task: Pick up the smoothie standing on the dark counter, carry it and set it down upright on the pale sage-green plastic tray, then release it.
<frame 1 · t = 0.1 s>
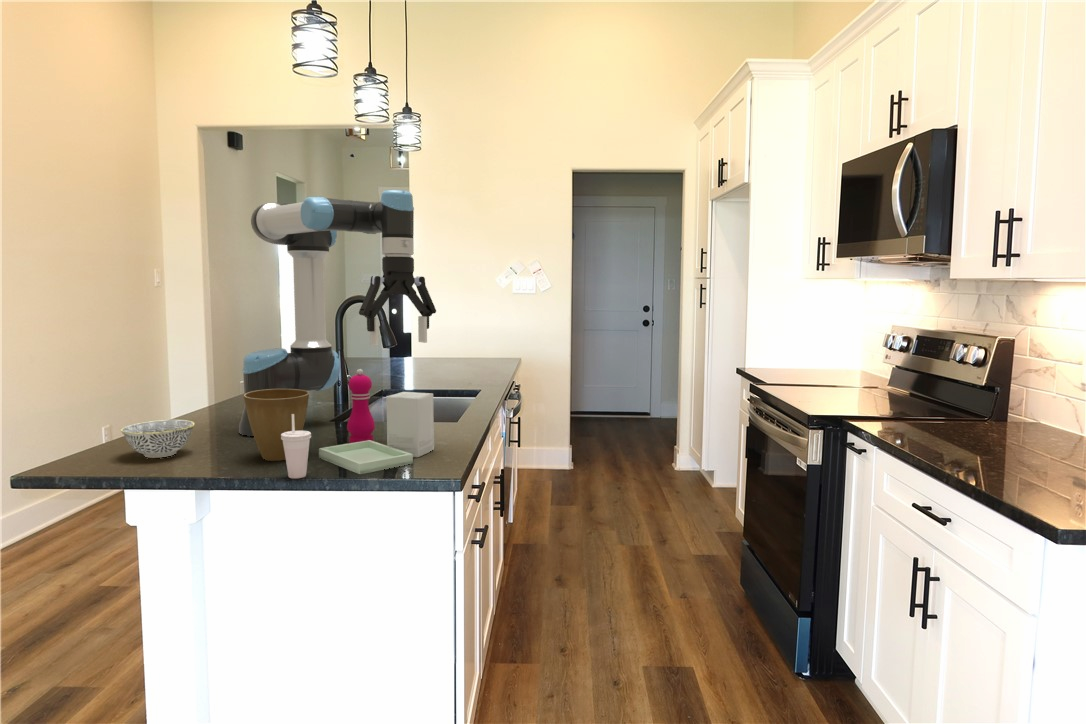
hand: (399, 343, 176), 28 cm above the counter, tool pointing down, fingers open, 13 cm apart
tray: (365, 460, 173), on the counter
bowl: (160, 456, 177), on the counter
smoothie: (297, 476, 160), on the counter
pepper mill: (361, 443, 193), on the counter
plant pot: (279, 458, 176), on the counter
supplement box: (411, 453, 182), on the counter
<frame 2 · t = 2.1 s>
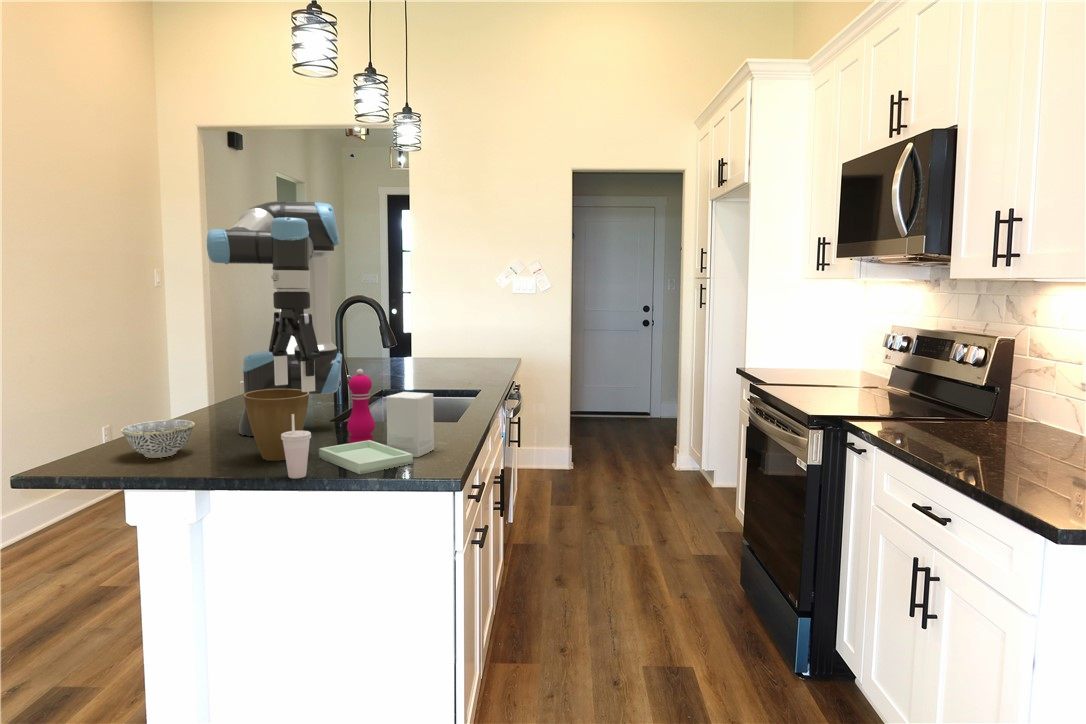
hand: (294, 388, 157), 20 cm above the counter, tool pointing down, fingers open, 13 cm apart
nothing on the counter moved.
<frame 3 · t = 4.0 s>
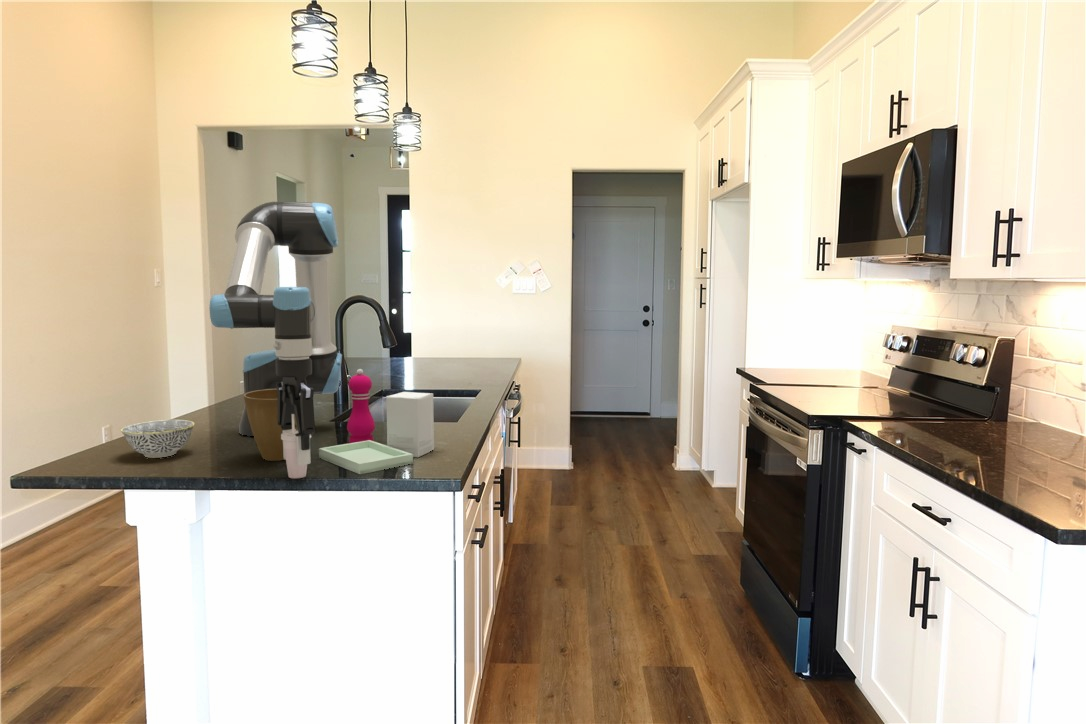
hand: (296, 460, 159), 3 cm above the counter, tool pointing down, fingers closed on smoothie, 6 cm apart
smoothie: (297, 476, 160), on the counter, touching gripper
everything else where it was.
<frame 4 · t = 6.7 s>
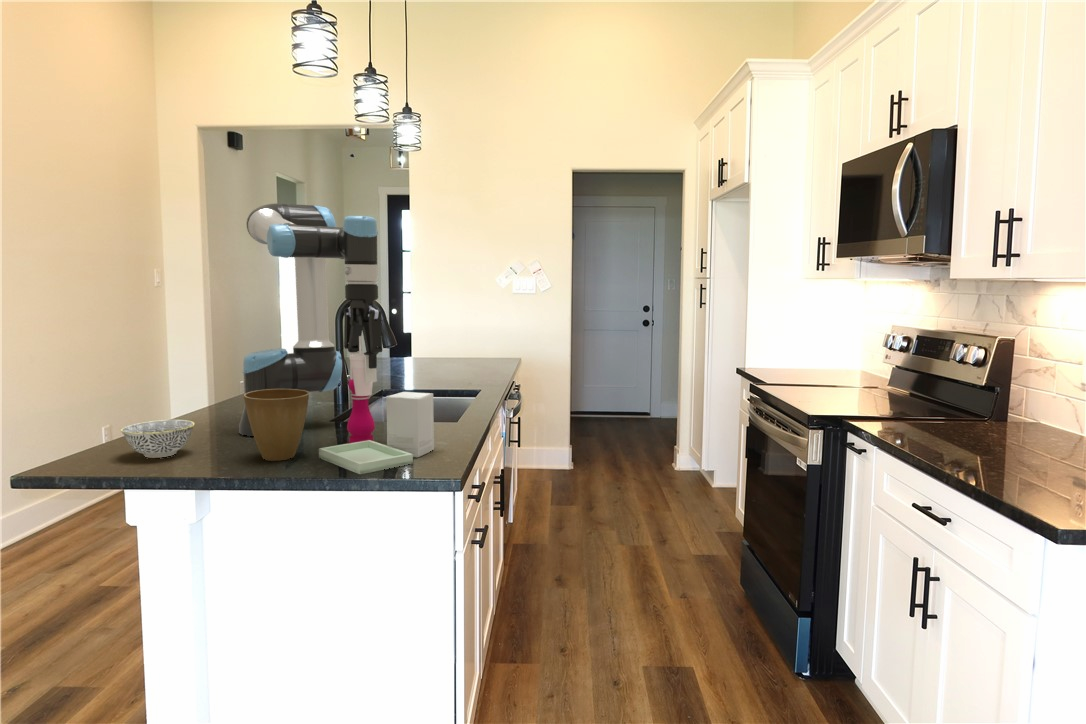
hand: (363, 380, 171), 20 cm above the counter, tool pointing down, fingers closed on smoothie, 6 cm apart
smoothie: (363, 395, 172), point 16 cm above the counter, touching gripper
everything else where it was.
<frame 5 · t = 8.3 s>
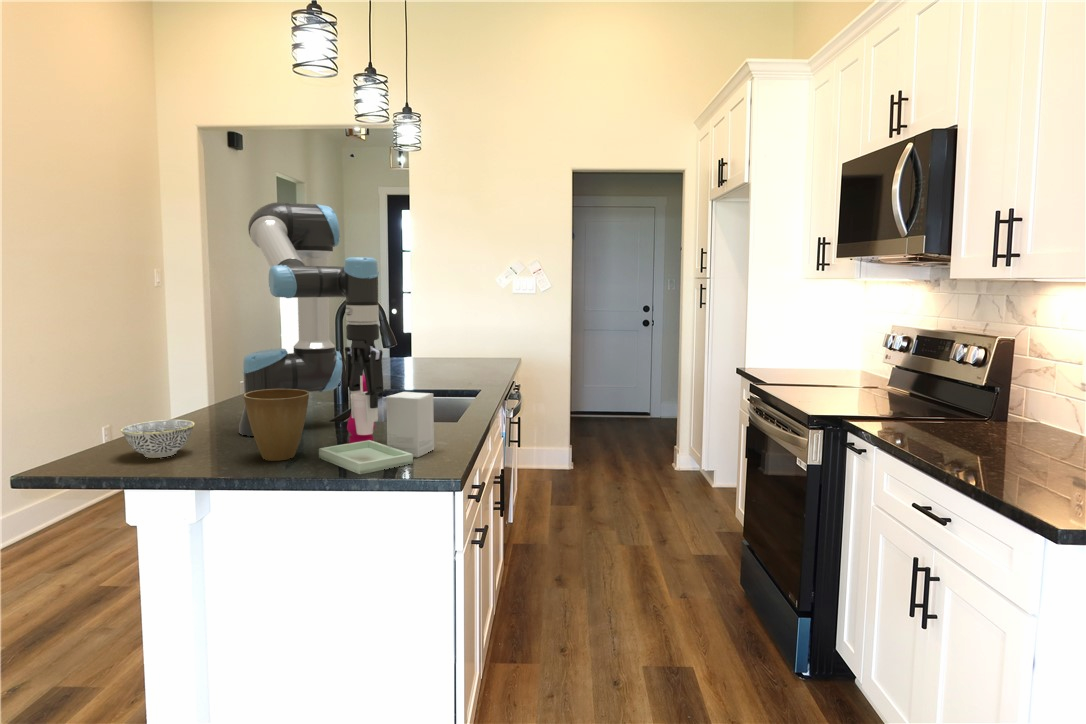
hand: (364, 419, 172), 10 cm above the counter, tool pointing down, fingers closed on smoothie, 6 cm apart
smoothie: (364, 434, 173), point 7 cm above the counter, touching gripper
everything else where it was.
when the fingers open (5 cm above the counter, at t = 9.6 s): smoothie drops 1 cm, resting on tray.
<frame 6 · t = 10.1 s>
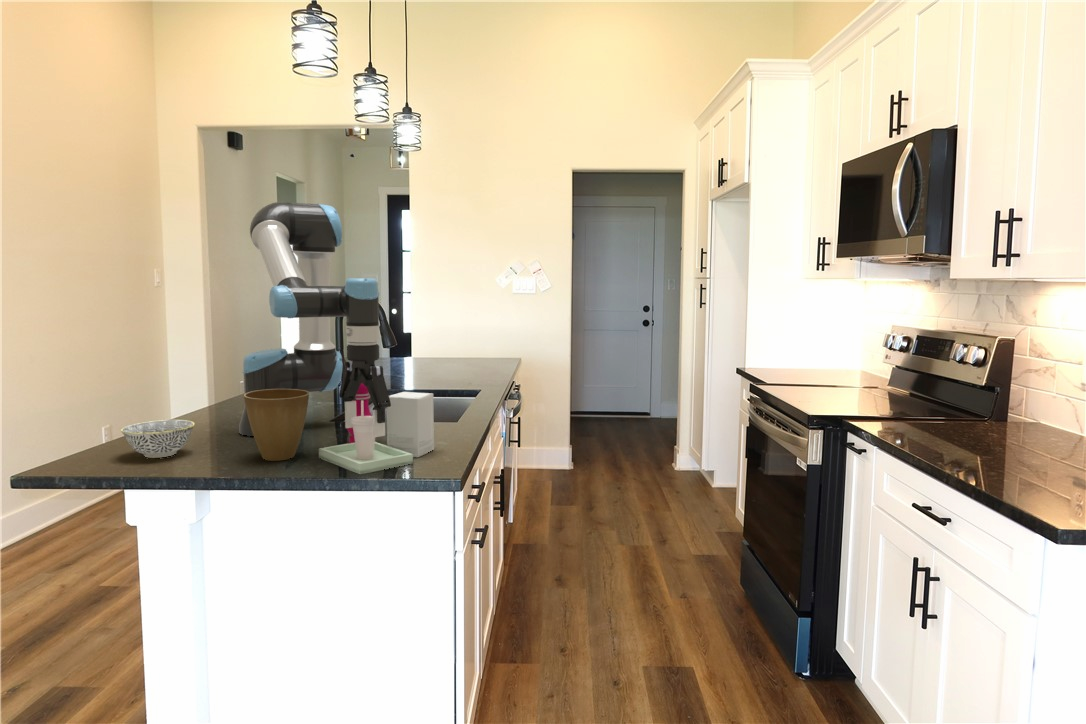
hand: (364, 431, 173), 7 cm above the counter, tool pointing down, fingers open, 13 cm apart
smoothie: (365, 458, 173), point 1 cm above the counter, touching tray
everything else where it was.
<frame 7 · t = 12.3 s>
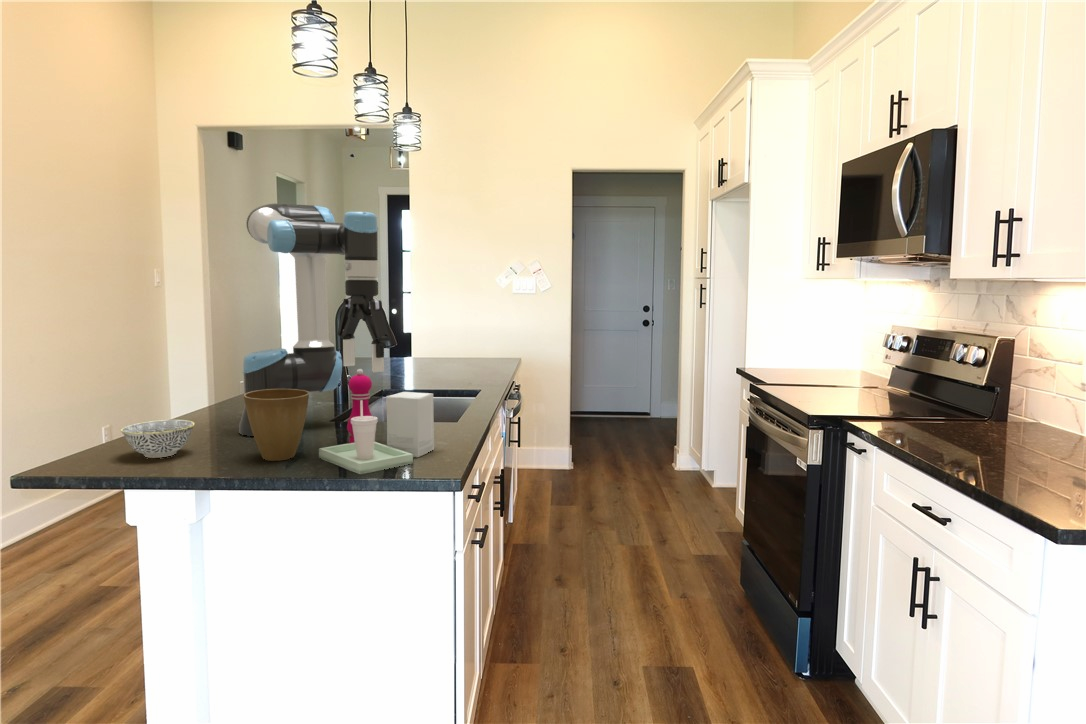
hand: (363, 368, 171), 22 cm above the counter, tool pointing down, fingers open, 13 cm apart
nothing on the counter moved.
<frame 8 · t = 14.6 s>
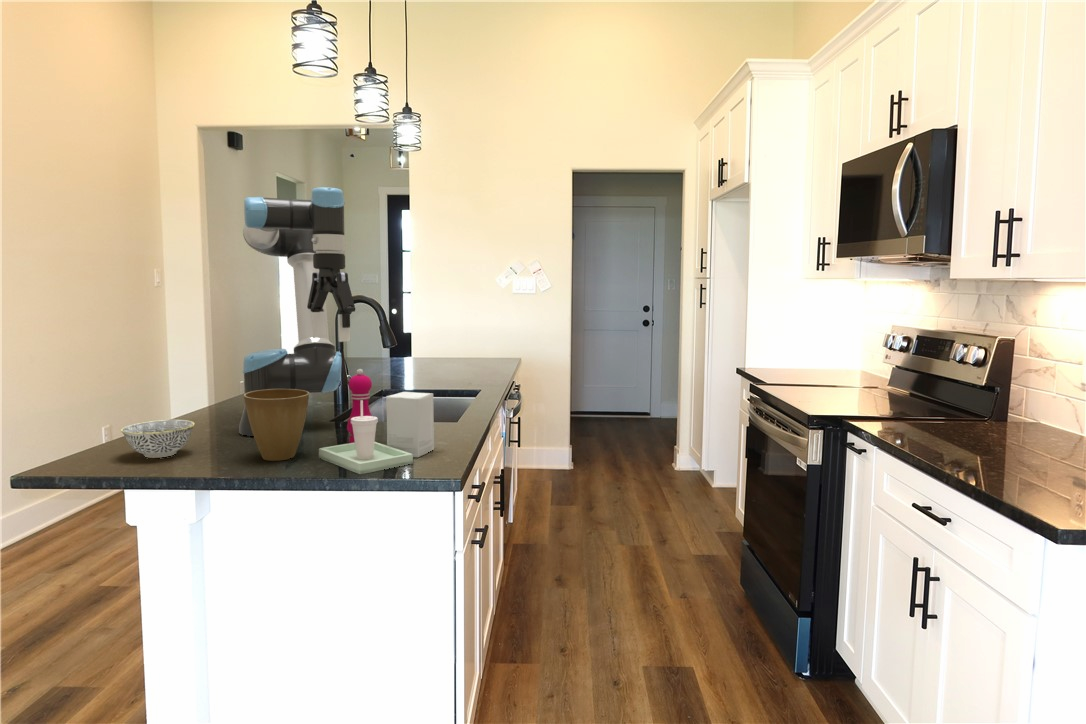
hand: (331, 339, 177), 29 cm above the counter, tool pointing down, fingers open, 13 cm apart
nothing on the counter moved.
at the end: smoothie inside the target area on the tray (0.0 cm from its centre), point 0.6 cm above the tray's base; smoothie tilted 0°; the gripper is holding nothing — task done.
